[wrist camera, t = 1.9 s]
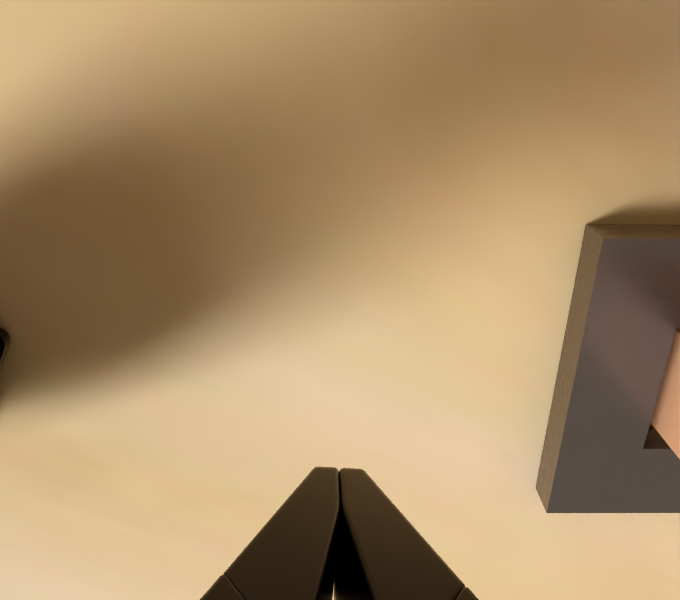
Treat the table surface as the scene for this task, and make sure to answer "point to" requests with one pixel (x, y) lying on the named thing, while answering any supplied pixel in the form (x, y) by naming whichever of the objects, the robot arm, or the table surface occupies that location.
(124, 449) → the table surface
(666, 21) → the table surface
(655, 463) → the plate
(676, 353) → the block
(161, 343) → the table surface
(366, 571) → the robot arm
